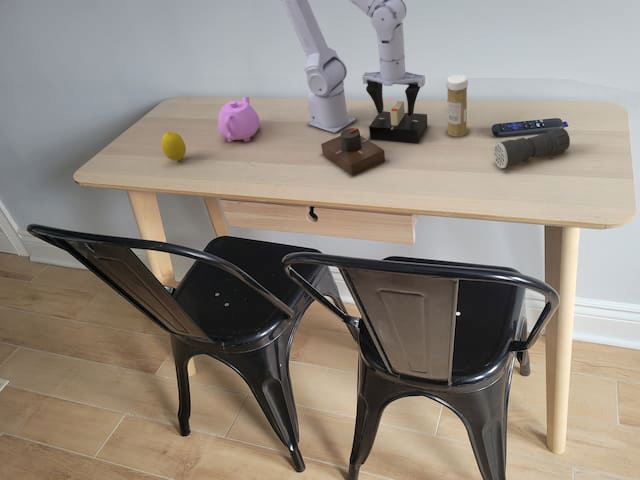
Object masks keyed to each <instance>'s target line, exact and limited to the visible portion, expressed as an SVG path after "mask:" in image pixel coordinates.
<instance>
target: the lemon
mask: <svg viewBox="0 0 640 480" xmlns="http://www.w3.org/2000/svg"><path fill="white" fill-rule="evenodd" d="M160 145H161V149H162V152H163V155H165V156H166V158H167V159H169V160H171V161H176V162H180V161H181V160H182V159H183V158H184V157H185V155H186V151H187V147H186V142H185V141H184V139H183V138H182V136H181V135H180V134H178V132H174V131H167V132H166V133H164V134H163V136H162V138H161V142H160Z"/></svg>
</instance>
